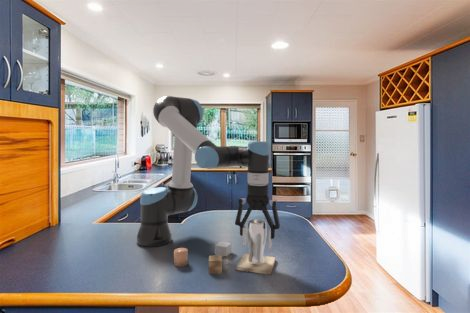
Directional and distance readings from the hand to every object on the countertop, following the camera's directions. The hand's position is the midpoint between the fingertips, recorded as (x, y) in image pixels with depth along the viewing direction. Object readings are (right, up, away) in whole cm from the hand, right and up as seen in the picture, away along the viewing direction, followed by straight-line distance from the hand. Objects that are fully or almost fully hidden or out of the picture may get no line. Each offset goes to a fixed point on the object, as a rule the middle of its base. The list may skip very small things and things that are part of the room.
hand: (257, 245), depth 105 cm
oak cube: (-15, -7, -4) cm, 17 cm away
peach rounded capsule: (-28, -7, +1) cm, 29 cm away
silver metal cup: (0, -6, 0) cm, 6 cm away
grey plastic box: (-13, -7, +11) cm, 18 cm away
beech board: (0, -7, 0) cm, 7 cm away
